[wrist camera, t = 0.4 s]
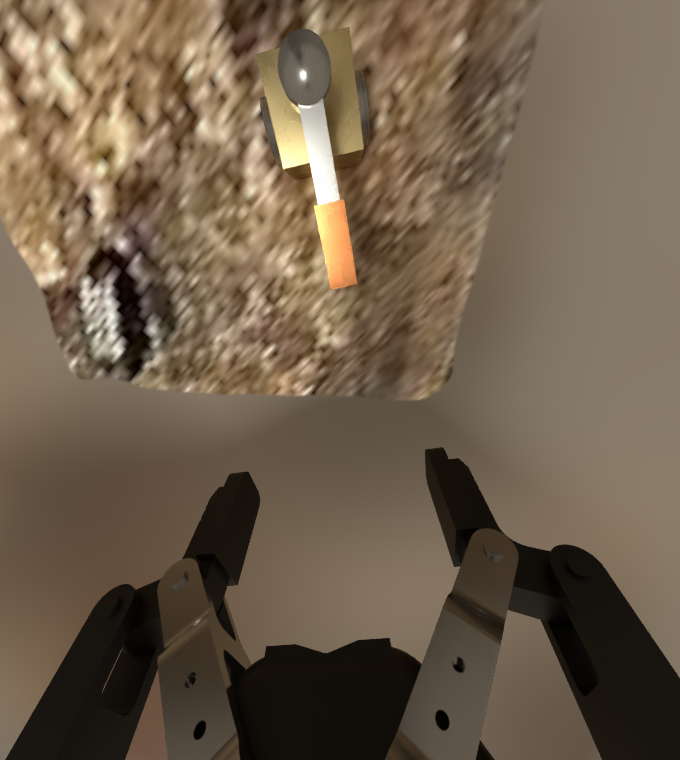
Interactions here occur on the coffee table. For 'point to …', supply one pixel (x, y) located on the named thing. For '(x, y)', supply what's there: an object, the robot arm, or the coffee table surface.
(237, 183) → the coffee table surface
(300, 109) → the valve lever
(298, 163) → the valve housing
